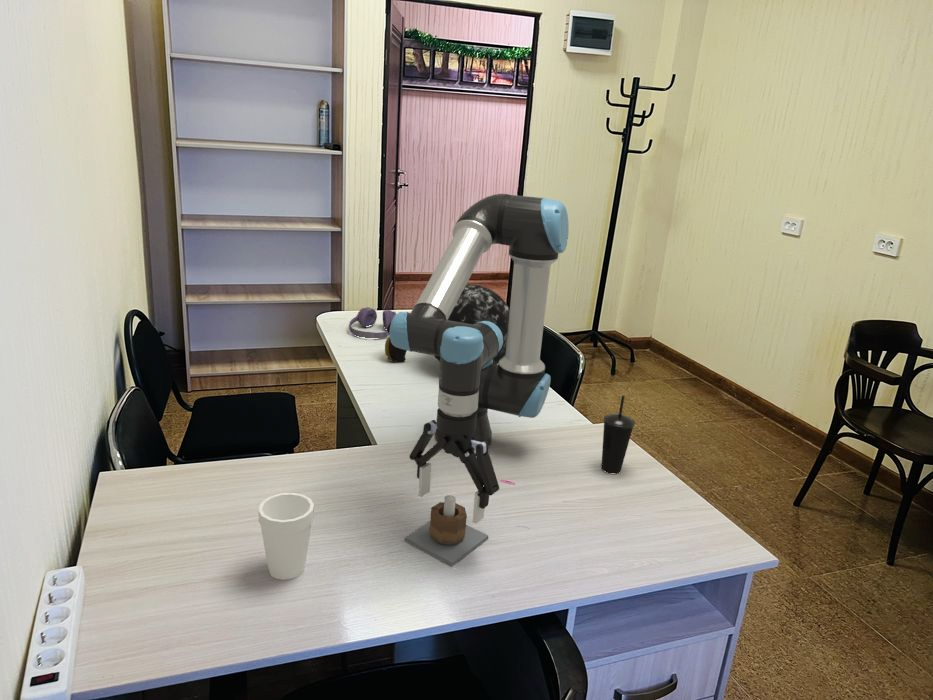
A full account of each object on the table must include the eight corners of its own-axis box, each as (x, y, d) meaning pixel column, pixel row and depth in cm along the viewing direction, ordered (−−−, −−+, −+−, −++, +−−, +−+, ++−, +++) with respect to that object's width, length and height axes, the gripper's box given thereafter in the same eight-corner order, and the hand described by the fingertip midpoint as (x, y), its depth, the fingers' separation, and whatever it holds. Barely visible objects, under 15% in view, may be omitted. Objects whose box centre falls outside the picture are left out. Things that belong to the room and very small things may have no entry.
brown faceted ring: (423, 533, 132) (424, 511, 131) (444, 519, 138) (445, 498, 136) (450, 547, 129) (451, 525, 127) (470, 532, 134) (472, 511, 132)
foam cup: (266, 552, 125) (265, 492, 121) (316, 553, 126) (316, 493, 122) (255, 585, 116) (253, 521, 112) (309, 586, 117) (309, 522, 113)
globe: (466, 351, 246) (473, 272, 237) (527, 376, 227) (536, 290, 217) (405, 366, 226) (409, 280, 217) (465, 394, 207) (473, 301, 197)
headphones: (359, 321, 271) (342, 342, 253) (358, 302, 267) (342, 323, 249) (402, 326, 268) (389, 348, 251) (403, 307, 265) (389, 329, 247)
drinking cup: (626, 479, 163) (640, 404, 157) (595, 474, 165) (607, 399, 158) (626, 465, 170) (638, 392, 164) (596, 460, 172) (607, 388, 165)
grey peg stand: (404, 540, 132) (406, 498, 129) (442, 516, 142) (445, 476, 138) (452, 566, 126) (455, 522, 123) (488, 538, 135) (492, 497, 132)
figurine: (395, 354, 237) (397, 314, 232) (412, 359, 234) (414, 318, 229) (379, 361, 229) (381, 320, 224) (396, 366, 226) (398, 324, 221)
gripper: (394, 395, 128) (390, 490, 136) (501, 437, 115) (491, 540, 122) (419, 384, 134) (414, 476, 141) (524, 423, 121) (513, 523, 128)
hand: (450, 506), depth 132 cm, fingers open, 13 cm apart
